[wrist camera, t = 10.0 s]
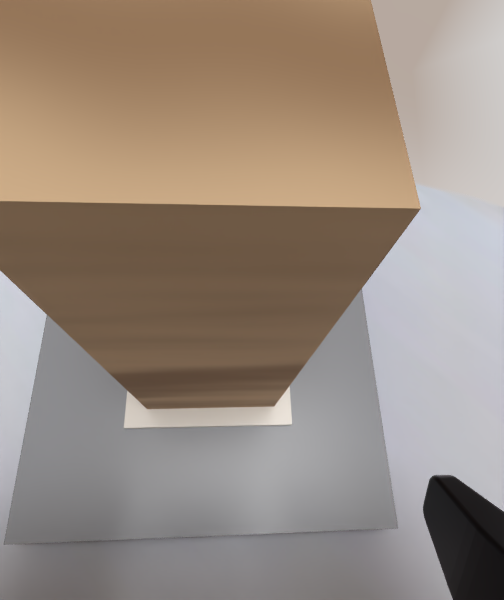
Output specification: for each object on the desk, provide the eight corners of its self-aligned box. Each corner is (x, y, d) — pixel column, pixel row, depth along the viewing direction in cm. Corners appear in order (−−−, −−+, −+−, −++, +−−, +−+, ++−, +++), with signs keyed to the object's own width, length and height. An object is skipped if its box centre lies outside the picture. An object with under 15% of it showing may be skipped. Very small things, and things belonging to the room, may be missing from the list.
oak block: (274, 406, 16) (421, 208, 4) (147, 409, 16) (-75, 200, 4) (268, 292, 18) (357, -55, 6) (155, 292, 18) (25, -79, 6)
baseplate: (383, 524, 16) (401, 529, 15) (23, 538, 15) (-1, 546, 14) (342, 231, 22) (352, 211, 20) (76, 226, 21) (64, 205, 19)
